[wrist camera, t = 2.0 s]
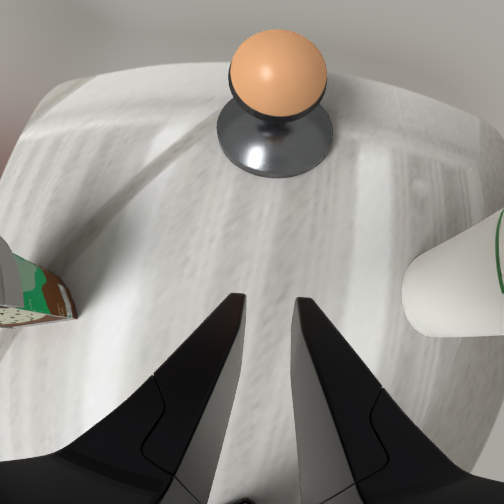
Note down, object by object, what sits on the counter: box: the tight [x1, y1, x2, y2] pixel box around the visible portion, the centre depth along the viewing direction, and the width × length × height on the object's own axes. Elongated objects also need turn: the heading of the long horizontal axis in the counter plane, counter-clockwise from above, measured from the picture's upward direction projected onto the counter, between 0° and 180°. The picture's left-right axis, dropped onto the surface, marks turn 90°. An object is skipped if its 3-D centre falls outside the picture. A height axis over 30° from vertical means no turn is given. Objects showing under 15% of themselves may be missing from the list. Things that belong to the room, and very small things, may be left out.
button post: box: [217, 62, 333, 178], centre depth 20 cm, size 10×10×8 cm
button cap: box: [230, 30, 327, 116], centre depth 16 cm, size 6×6×6 cm
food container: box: [0, 236, 77, 328], centre depth 16 cm, size 12×6×10 cm, turn 102°
